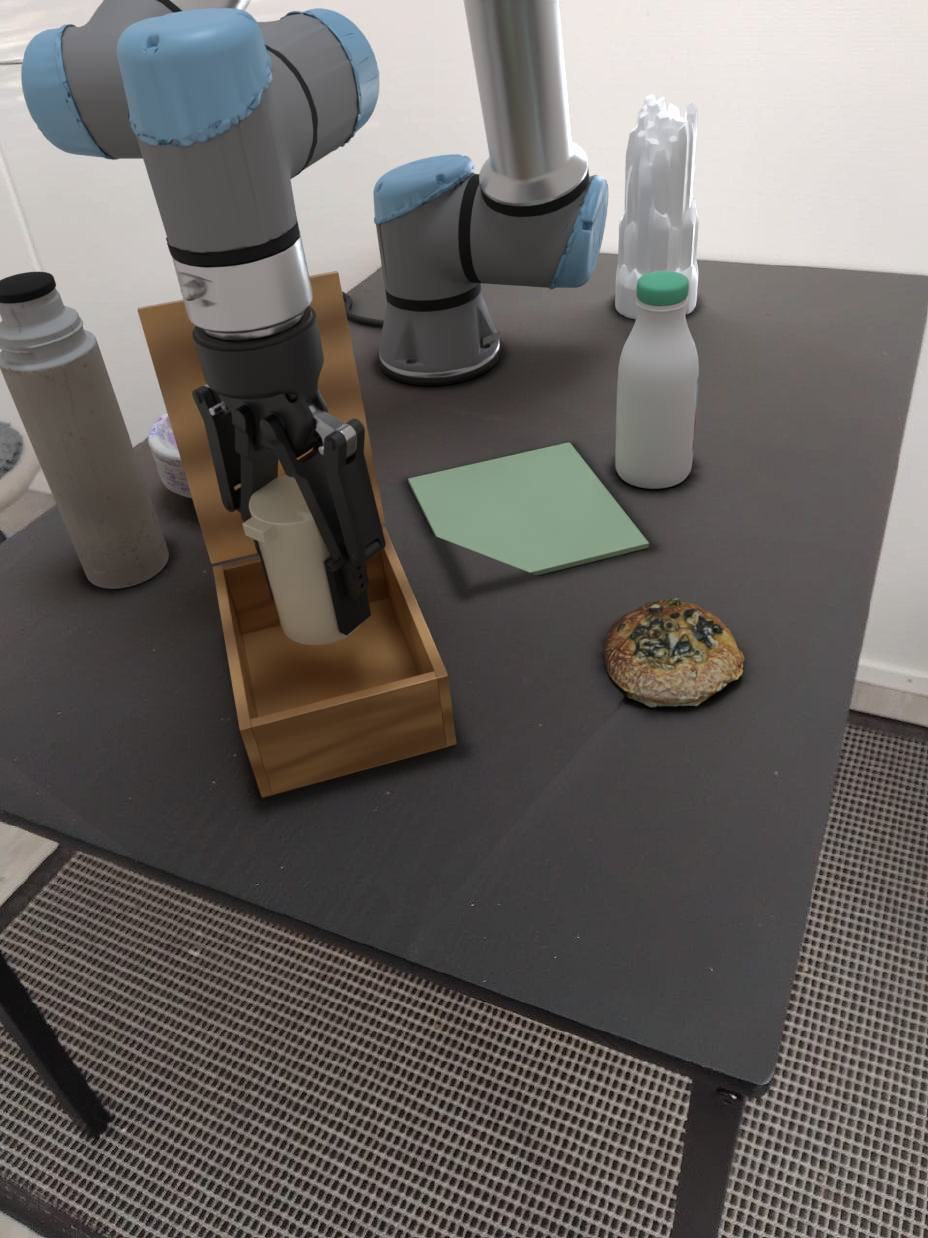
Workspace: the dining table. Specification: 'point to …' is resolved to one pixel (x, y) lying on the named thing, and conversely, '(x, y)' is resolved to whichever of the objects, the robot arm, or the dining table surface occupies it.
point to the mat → (528, 510)
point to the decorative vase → (658, 202)
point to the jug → (294, 562)
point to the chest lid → (177, 381)
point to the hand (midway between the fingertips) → (320, 606)
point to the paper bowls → (168, 457)
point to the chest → (332, 681)
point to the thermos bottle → (78, 433)
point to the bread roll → (671, 654)
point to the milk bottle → (657, 387)
